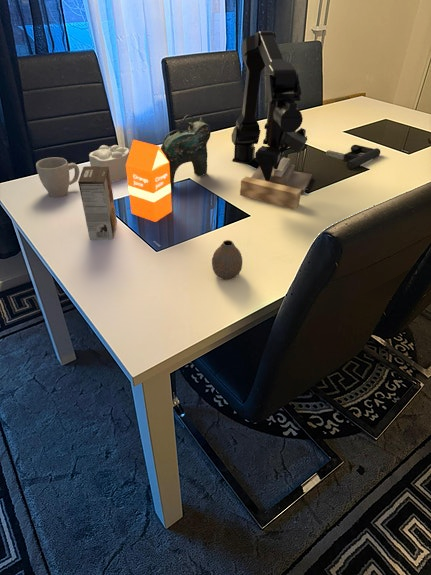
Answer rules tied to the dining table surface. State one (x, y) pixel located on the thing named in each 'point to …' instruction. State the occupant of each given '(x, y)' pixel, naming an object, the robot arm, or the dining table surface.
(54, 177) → the mug
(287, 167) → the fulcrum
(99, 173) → the coffee box
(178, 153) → the dark green animal statue
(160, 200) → the orange juice
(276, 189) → the oak beam
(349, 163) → the door handle
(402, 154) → the dining table surface
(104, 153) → the lumpy-topped squat cylinder
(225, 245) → the vase
